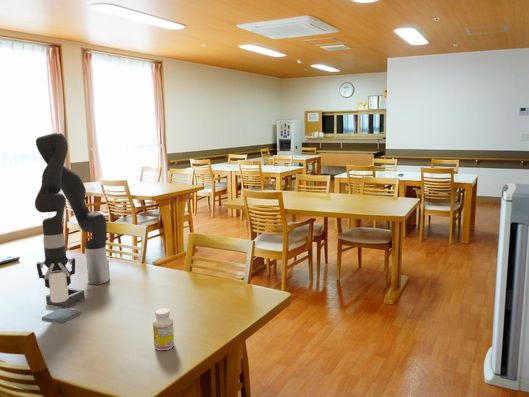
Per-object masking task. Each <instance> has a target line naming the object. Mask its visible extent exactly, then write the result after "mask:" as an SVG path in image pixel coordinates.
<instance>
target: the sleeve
mask: <svg viewBox="0 0 529 397" xmlns="http://www.w3.org/2000/svg"><path fill="white" fill-rule="evenodd" d="M68 297H69V298H68V300H66V301H64V302H61V303H53V302H51V299H50V293H49V294H47V295H45V301H46V305H47V306H51V307H58V308H68V309H69V308H70V307H72V306H73V305H76V304H77V303H79V302H81V301H83V300H86V296H85V289H78V288H71V287H68Z"/></svg>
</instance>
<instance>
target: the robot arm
mask: <svg viewBox="0 0 529 397" xmlns="http://www.w3.org/2000/svg"><path fill="white" fill-rule="evenodd" d="M35 145H36V149H37V150H38V152H39V154H40V156H41V157H42V159H43V161H44V162H45V164H46V166H45V168H44V169H43V172H42V176H41V186H40V189H39V191H38V193H37V195H36V197H35V200H34V207H35V209H36V211H37V212H39V213H55V215H54V216H51V217H47V218H45V219H43V220H42V223H41V224H42V233H43V239H42V241H43V251H44V252H43V253H44V261H41V262H40V261H37V263H36V269H37V274H38V278H39V279H42V280H44V285H45V288H47V289H49V278H48V277H49V275H50V273H51V271H57V270H58V271H61V270H63V272H64V273H65V274H66V275H67V277H66V278H67V286H68V287H69V286H70V284H71V283H72V280H71V279H72V278H71V276H72V275H75V274H76V258H75V257H72V258H68V257H67V248H66V239H65V238H66V237H65V234H64V225H63V224H64V223H63V221H64V220H63V219H64V212H65V209H66V204H67V202H68V204H69V206H70V208H71V210H72V212H73V214H74V217H75V219H76V221H77V224H78V226H79V228H80V229H81V230H82V231H83V232H85V233H88V234H89V233H90V234H91V239H88V240H87V241H85V242H84V250H85V259H86V270H87V272H86V273H87V282H88V284H89V285H96V286H97V285H103V284H105V283H106V284H107V282H108V281H109V280H111V278H110V277H111V275H110V274H111V273H110V265H109V263H110V262H109V259H108V257H107V240H108V231H107V230H108V226H107V218H106V216H105V215H104V214H102V213H92V212H90V211H89V209H88V206H87V204H86V195H87V193H86V192H87V191H86V190H87V189H86V186H85V184H84V183H83V181H82V179H81V177H80V176H79V175H78V174H77V173H76V172H75V171H74V170H72V169H70V168H69V167H67V166H65V162H66V158H67V154H68V150H69V149H68V146H69V145H68V141H67V138H66V136H64V134H63V133H62V132H60V131H59V132H53V133H49V134H45V135H42V136H39V137H37V138H36V139H35ZM61 191H62V193H61ZM68 263H69V264H70V265H71V270H69V269H68V267H67V266H66V265H67V264H68ZM44 266H45V267H46V268H47V270H46V273H45V274H43V269H42V268H44Z"/></svg>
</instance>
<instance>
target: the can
mask: <svg viewBox="0 0 529 397" xmlns="http://www.w3.org/2000/svg"><path fill="white" fill-rule="evenodd" d="M66 277H67V275H66V274H65V273H64V272H63V270H61V271H58V270H57V271H51V273H50V275H49V277H48V278H49V288H48V289H49V294H50V299H51V302H53V303H61V302H64V301H66V300H68V298H69V297H68V288H69V286H67V278H66Z"/></svg>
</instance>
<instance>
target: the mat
mask: <svg viewBox="0 0 529 397" xmlns="http://www.w3.org/2000/svg"><path fill="white" fill-rule="evenodd" d="M80 314H82V311H81V310H78V309H72V308H69V307H68V308H62V307H59V308H58V309H55V310H53V311H51V312H50V313H47V314H45V315H42V316H41V320H43V321H48V322H53V323H57V324H64V323H65V322H67V321H69V320H71V319H73V318H75V317H76V316H78V315H80Z"/></svg>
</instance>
